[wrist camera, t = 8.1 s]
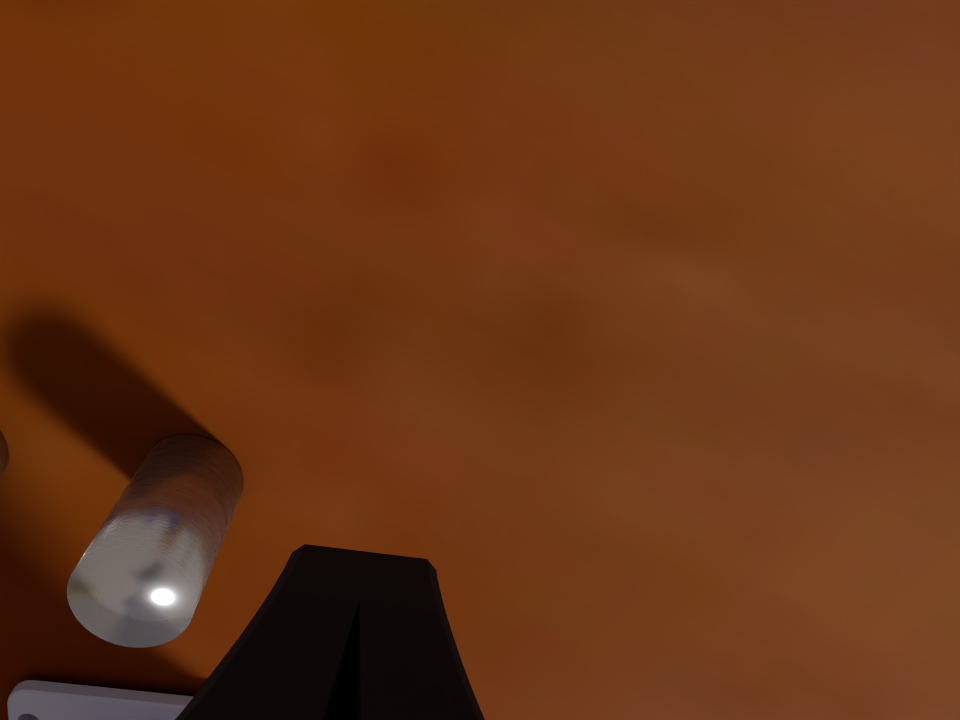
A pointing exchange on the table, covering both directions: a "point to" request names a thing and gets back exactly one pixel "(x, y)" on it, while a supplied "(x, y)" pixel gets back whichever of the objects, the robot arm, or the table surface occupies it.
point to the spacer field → (156, 543)
